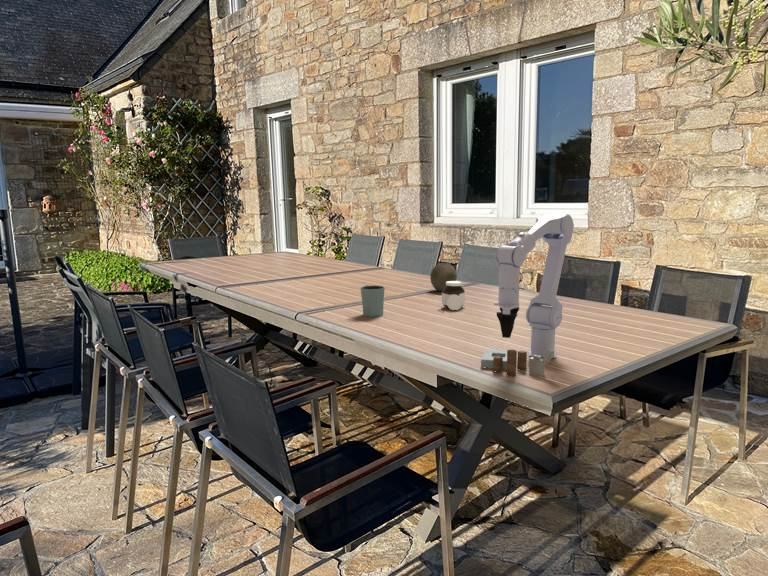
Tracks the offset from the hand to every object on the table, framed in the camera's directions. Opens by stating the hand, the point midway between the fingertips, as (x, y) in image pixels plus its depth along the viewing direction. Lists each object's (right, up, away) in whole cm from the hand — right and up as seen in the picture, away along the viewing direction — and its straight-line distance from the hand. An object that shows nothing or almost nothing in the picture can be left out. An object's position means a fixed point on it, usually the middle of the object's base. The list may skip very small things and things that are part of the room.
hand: (507, 334), depth 164 cm
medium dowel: (+4, -10, 0) cm, 11 cm away
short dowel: (-3, -10, -1) cm, 11 cm away
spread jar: (-4, +4, +90) cm, 91 cm away
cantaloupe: (-4, +11, +137) cm, 137 cm away
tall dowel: (0, -11, -5) cm, 12 cm away
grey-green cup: (-40, +2, +77) cm, 87 cm away
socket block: (-1, -9, +6) cm, 11 cm away
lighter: (+8, -11, -5) cm, 15 cm away
